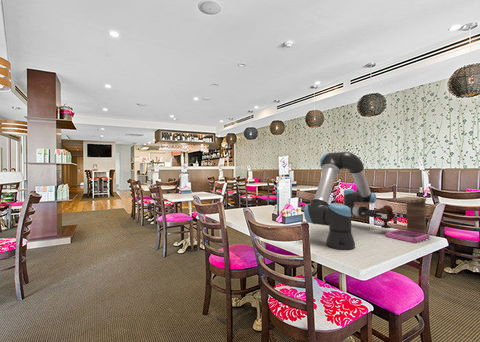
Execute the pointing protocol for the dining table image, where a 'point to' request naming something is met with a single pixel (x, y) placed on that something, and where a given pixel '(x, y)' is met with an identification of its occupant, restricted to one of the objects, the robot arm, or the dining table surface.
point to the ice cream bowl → (389, 213)
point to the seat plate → (407, 236)
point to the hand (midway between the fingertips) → (391, 215)
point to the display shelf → (415, 213)
